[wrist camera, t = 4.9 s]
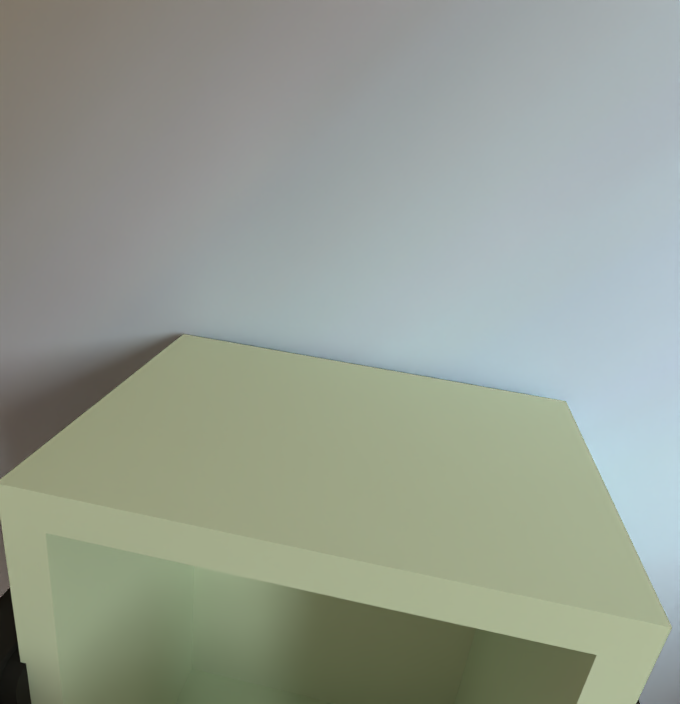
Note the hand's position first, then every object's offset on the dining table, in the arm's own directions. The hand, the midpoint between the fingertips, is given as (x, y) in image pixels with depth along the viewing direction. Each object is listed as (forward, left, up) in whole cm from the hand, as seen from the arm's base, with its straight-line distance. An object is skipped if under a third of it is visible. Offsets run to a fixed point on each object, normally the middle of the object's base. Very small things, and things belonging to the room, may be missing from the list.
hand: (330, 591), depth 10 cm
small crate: (0, 0, -1) cm, 1 cm away
